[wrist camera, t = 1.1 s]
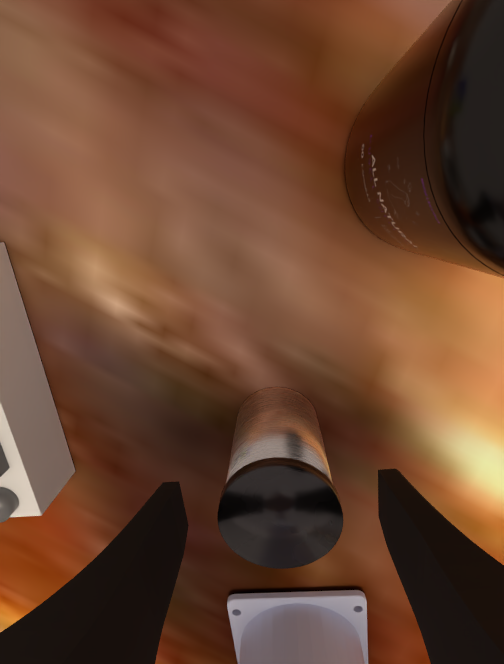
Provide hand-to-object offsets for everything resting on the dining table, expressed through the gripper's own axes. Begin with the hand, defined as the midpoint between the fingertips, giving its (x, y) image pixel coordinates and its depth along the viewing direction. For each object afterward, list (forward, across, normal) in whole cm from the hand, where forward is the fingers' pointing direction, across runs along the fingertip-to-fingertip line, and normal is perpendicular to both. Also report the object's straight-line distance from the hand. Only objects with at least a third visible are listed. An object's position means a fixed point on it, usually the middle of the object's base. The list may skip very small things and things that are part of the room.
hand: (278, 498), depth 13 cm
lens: (+5, 0, 0) cm, 5 cm away
